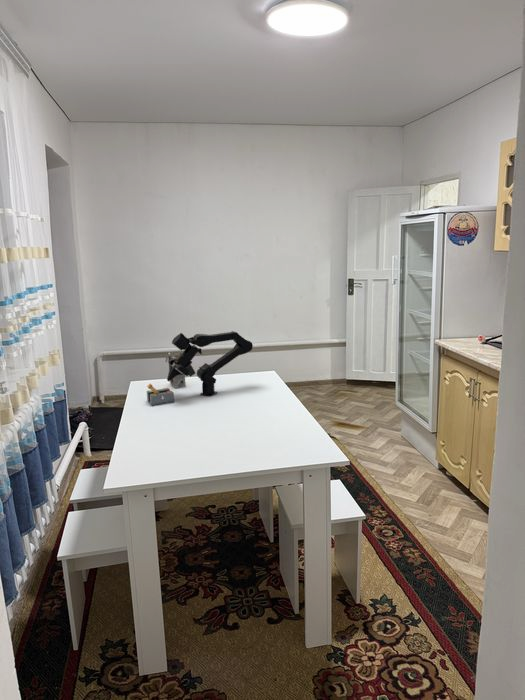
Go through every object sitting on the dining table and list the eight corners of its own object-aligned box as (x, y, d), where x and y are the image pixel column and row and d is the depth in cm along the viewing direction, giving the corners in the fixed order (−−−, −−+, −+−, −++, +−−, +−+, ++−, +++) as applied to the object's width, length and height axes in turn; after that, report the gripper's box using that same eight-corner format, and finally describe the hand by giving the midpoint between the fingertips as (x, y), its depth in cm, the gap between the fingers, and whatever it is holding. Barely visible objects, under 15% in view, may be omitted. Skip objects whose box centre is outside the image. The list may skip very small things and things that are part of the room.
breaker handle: (161, 393, 258) (149, 383, 255) (162, 394, 256) (151, 384, 253) (158, 396, 258) (146, 386, 255) (159, 398, 256) (147, 387, 252)
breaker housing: (169, 397, 264) (168, 387, 263) (174, 402, 256) (173, 392, 255) (147, 400, 260) (146, 390, 259) (152, 406, 251) (151, 395, 250)
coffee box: (169, 384, 287) (167, 356, 284) (181, 383, 290) (179, 354, 286) (174, 388, 279) (172, 359, 275) (186, 387, 282) (184, 357, 278)
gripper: (205, 369, 255) (185, 394, 253) (193, 361, 271) (174, 385, 269) (188, 355, 250) (168, 381, 248) (177, 348, 266) (158, 373, 264)
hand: (167, 380), depth 257 cm, fingers closed
